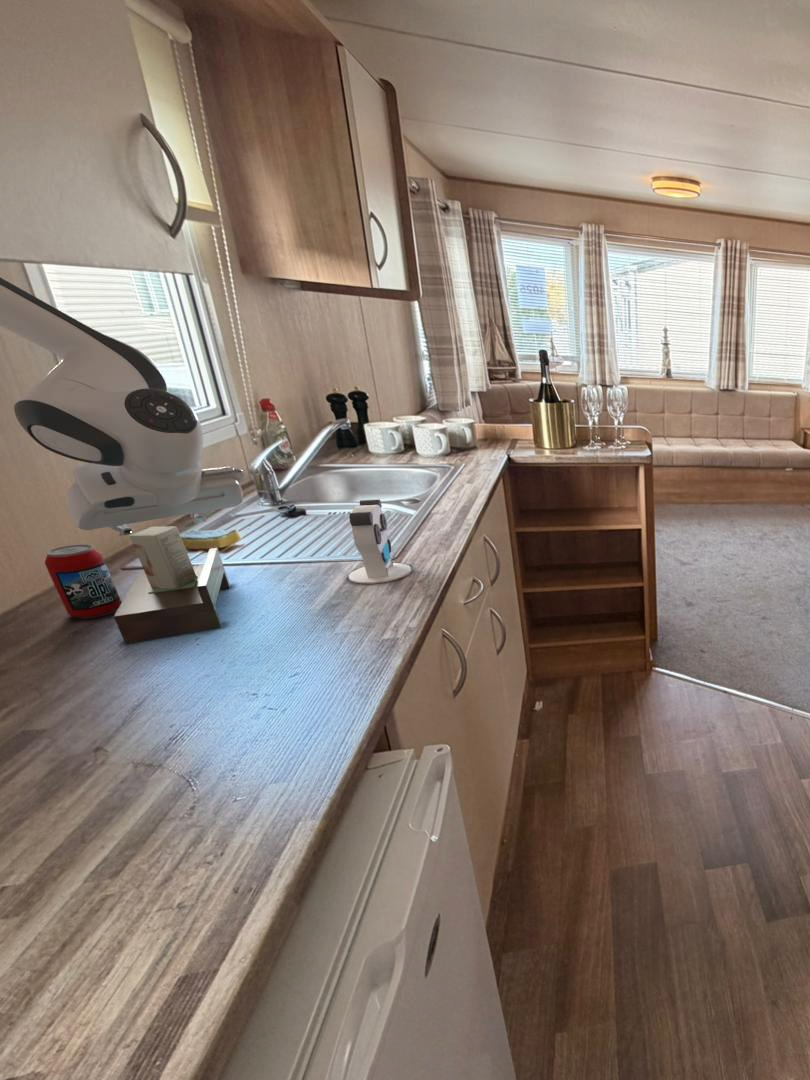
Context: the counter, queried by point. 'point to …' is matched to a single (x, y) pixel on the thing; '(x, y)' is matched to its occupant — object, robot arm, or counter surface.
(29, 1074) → the counter surface
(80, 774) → the counter surface
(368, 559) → the panda figurine
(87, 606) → the beverage can
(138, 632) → the shelf
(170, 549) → the cream cardboard box
